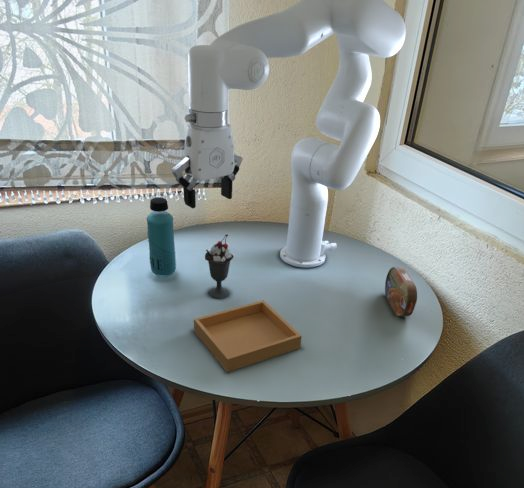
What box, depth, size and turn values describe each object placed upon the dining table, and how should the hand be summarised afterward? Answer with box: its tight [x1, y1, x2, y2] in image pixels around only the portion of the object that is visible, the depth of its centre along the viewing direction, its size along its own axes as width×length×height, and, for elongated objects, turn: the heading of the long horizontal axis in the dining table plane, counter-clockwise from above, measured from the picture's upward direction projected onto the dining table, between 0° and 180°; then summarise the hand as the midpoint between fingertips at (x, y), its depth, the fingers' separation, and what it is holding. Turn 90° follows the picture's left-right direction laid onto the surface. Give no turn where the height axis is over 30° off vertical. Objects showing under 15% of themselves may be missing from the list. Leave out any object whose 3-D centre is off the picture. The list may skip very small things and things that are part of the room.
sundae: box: [204, 234, 235, 299], centre depth 121 cm, size 7×7×15 cm
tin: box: [384, 266, 418, 317], centre depth 123 cm, size 15×3×8 cm, turn 5°
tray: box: [193, 299, 303, 373], centre depth 110 cm, size 18×16×3 cm
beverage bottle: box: [146, 196, 177, 277], centre depth 125 cm, size 6×7×20 cm
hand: (208, 201), depth 112 cm, fingers open, 9 cm apart
